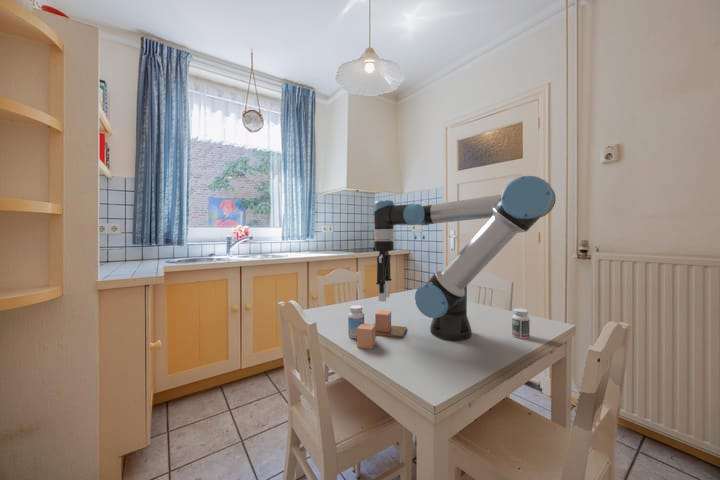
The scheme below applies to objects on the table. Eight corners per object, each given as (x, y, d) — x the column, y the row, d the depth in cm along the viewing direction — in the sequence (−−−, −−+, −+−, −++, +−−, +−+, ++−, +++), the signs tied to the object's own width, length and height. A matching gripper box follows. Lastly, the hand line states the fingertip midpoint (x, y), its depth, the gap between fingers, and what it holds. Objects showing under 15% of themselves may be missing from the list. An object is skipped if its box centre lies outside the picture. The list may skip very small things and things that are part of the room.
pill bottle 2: (528, 334, 109) (529, 308, 109) (530, 340, 104) (530, 313, 103) (511, 332, 111) (511, 307, 111) (512, 337, 106) (512, 311, 106)
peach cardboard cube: (375, 343, 102) (375, 324, 102) (371, 348, 97) (371, 329, 97) (361, 341, 104) (361, 323, 104) (357, 347, 99) (357, 328, 99)
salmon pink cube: (391, 327, 116) (391, 311, 116) (388, 331, 111) (388, 315, 111) (378, 326, 117) (378, 310, 117) (375, 330, 112) (375, 313, 112)
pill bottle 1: (362, 339, 105) (362, 309, 105) (346, 338, 107) (346, 308, 106) (365, 333, 111) (365, 305, 111) (350, 332, 113) (350, 304, 112)
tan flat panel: (406, 328, 116) (406, 313, 116) (402, 337, 107) (402, 321, 107) (372, 325, 121) (372, 310, 120) (366, 334, 111) (366, 317, 111)
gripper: (380, 239, 123) (380, 293, 124) (368, 241, 105) (368, 304, 105) (397, 239, 120) (397, 294, 121) (388, 241, 102) (388, 306, 103)
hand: (384, 298), depth 113 cm, fingers open, 6 cm apart
